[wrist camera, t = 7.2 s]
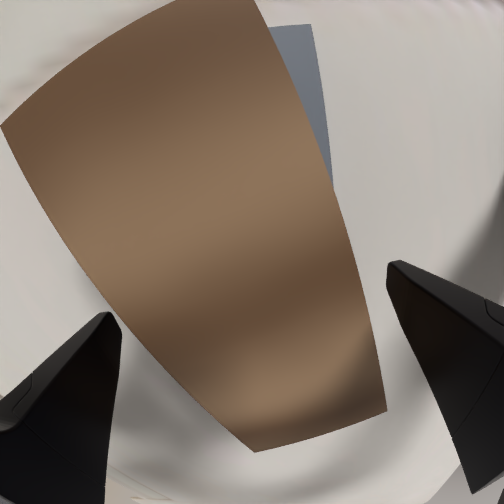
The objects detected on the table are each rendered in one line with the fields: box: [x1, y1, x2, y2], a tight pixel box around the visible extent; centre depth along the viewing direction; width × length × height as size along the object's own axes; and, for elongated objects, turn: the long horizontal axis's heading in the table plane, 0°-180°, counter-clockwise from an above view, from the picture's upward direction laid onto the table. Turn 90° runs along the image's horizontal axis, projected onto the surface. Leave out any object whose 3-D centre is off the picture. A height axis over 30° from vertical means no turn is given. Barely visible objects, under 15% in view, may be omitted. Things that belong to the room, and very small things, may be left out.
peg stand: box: [268, 24, 334, 189], centre depth 13 cm, size 17×9×5 cm, turn 10°
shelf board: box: [0, 0, 387, 453], centre depth 10 cm, size 16×6×3 cm, turn 24°
